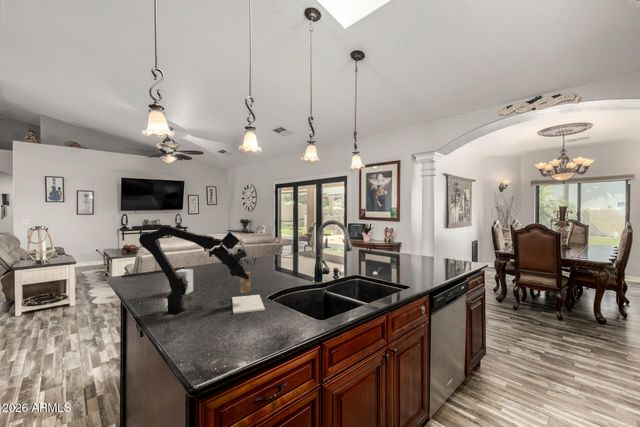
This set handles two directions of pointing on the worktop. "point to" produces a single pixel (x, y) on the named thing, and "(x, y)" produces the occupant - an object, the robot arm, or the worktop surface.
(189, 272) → the supplement box
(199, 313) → the worktop surface
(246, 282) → the oak block
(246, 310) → the cutting board
